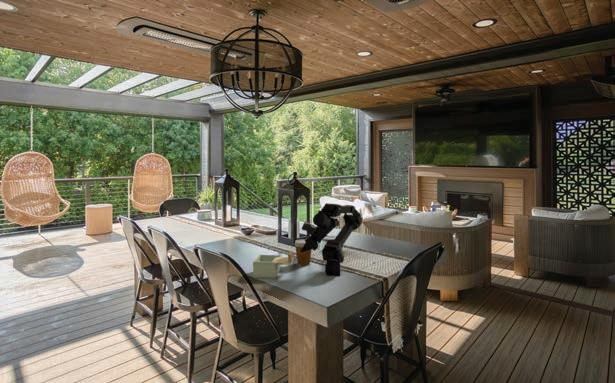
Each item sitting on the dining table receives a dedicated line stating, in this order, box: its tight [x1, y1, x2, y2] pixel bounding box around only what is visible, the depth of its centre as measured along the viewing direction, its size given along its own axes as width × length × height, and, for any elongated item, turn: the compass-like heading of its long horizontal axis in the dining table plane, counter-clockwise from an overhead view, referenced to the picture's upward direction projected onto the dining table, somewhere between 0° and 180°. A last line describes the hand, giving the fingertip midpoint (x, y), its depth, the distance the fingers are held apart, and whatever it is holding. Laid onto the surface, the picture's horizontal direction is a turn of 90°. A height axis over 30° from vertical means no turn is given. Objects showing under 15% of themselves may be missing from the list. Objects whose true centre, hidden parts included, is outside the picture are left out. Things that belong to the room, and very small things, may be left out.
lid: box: [272, 250, 294, 266], centre depth 174 cm, size 9×10×4 cm
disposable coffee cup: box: [294, 238, 313, 267], centre depth 191 cm, size 10×10×12 cm
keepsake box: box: [252, 254, 281, 280], centre depth 176 cm, size 10×12×8 cm
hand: (300, 251), depth 173 cm, fingers closed
